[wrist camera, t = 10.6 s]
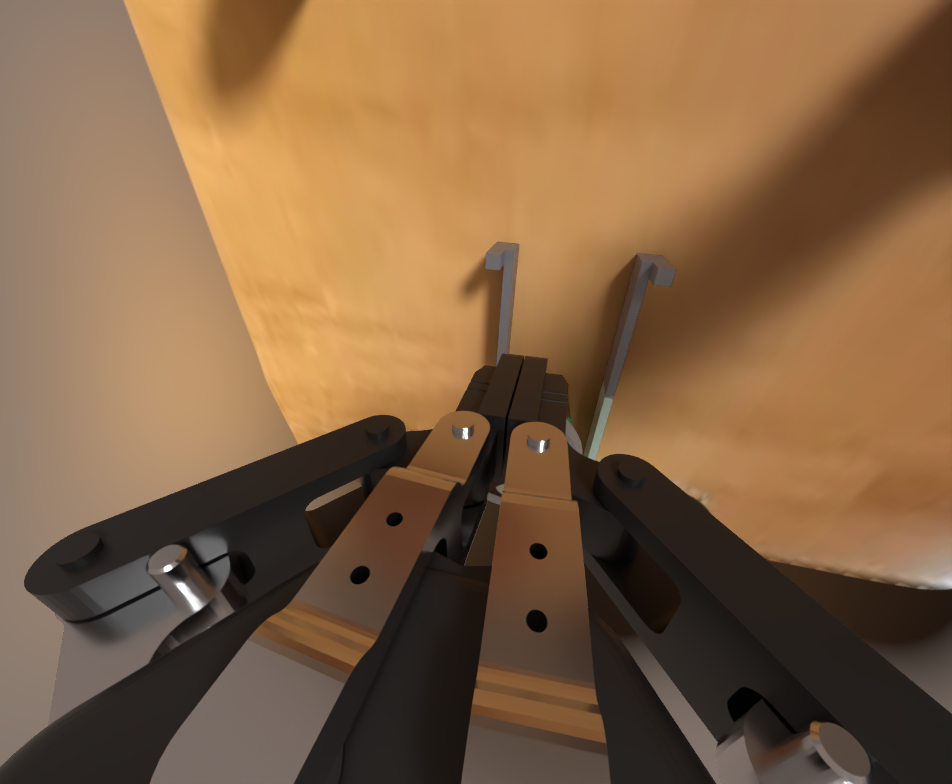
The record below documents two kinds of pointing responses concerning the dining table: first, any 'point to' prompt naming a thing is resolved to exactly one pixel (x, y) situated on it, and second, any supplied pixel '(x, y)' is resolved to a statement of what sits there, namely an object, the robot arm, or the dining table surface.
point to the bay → (642, 272)
